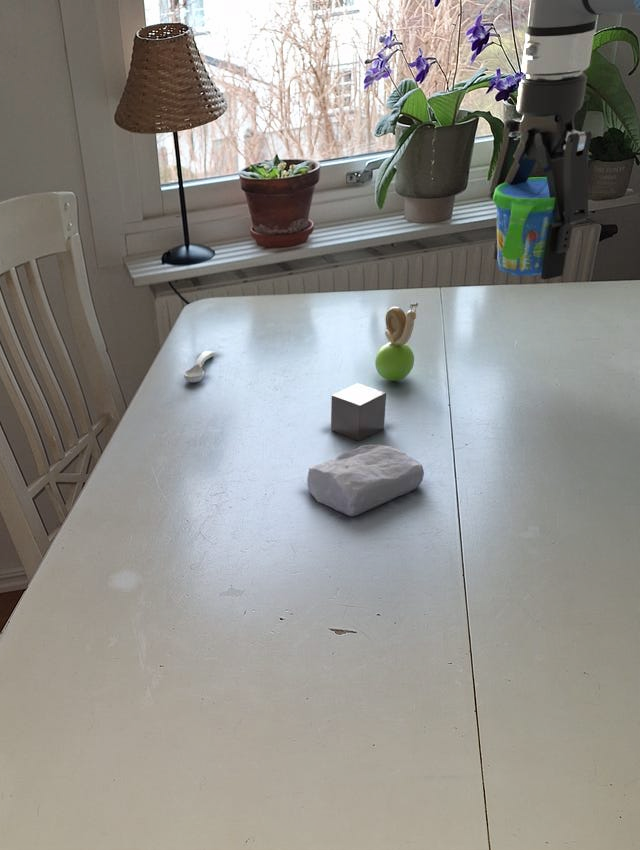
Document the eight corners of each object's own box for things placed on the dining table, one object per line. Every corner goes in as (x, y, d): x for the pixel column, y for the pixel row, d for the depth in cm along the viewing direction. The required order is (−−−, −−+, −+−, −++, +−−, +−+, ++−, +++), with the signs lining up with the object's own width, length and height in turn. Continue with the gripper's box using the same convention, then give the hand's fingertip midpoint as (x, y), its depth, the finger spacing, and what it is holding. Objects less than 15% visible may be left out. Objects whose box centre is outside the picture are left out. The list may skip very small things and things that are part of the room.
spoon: (181, 385, 139) (180, 372, 138) (200, 359, 148) (200, 347, 147) (200, 385, 138) (199, 372, 137) (218, 359, 148) (218, 347, 146)
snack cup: (540, 292, 116) (553, 206, 110) (462, 281, 122) (470, 199, 116) (589, 256, 125) (604, 174, 118) (514, 248, 131) (524, 169, 124)
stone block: (299, 503, 113) (353, 521, 105) (295, 466, 111) (350, 481, 103) (373, 474, 117) (430, 490, 109) (370, 438, 115) (428, 451, 107)
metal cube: (384, 428, 122) (386, 392, 119) (358, 441, 120) (360, 405, 117) (356, 417, 126) (357, 382, 122) (330, 430, 123) (331, 395, 120)
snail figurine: (392, 392, 130) (398, 308, 123) (367, 377, 135) (370, 295, 128) (424, 382, 132) (431, 299, 124) (398, 368, 137) (403, 286, 129)
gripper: (472, 70, 117) (456, 252, 131) (589, 88, 100) (556, 295, 114) (523, 61, 119) (502, 242, 132) (647, 78, 102) (607, 283, 115)
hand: (527, 266), depth 123 cm, fingers closed on snack cup, 10 cm apart
